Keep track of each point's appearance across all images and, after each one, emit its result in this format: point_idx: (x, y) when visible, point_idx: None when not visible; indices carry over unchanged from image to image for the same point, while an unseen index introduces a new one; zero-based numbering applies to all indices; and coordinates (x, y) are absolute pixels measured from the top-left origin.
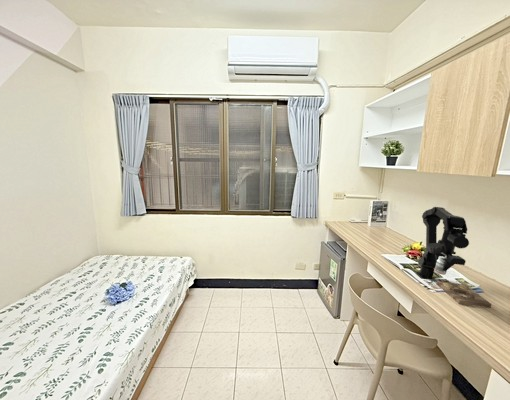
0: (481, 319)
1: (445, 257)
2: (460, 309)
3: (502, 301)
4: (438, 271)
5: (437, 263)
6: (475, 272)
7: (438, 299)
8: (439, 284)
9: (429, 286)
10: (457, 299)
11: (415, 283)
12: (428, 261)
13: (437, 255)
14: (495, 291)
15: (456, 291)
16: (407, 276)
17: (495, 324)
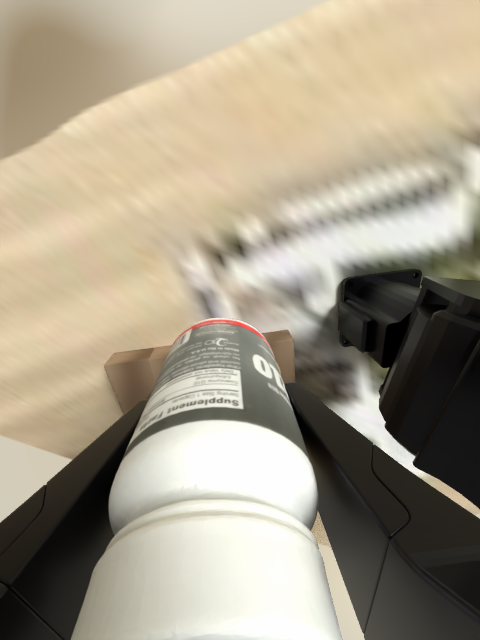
0: (21, 388)
1: None
2: (56, 338)
3: None
4: (176, 344)
5: (193, 395)
6: None
7: (100, 263)
8: (267, 339)
9: (247, 276)
10: (119, 360)
11: (257, 187)
12: (444, 343)
13: (422, 600)
14: None
15: None
16: (351, 164)
17: (18, 421)
